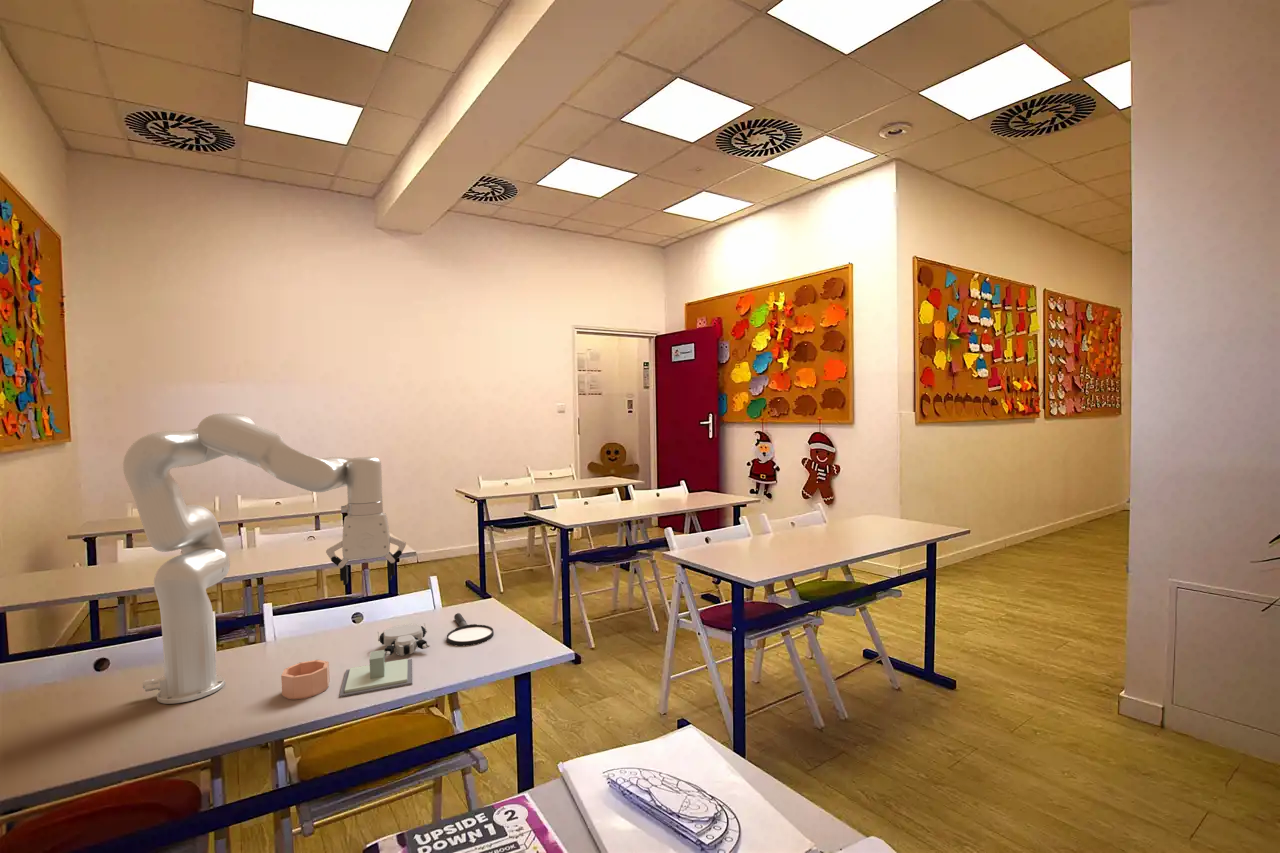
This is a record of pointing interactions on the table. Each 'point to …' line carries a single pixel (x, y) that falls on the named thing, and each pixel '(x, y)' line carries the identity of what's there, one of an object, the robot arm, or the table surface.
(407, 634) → the robot toy
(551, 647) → the table surface
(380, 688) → the mat
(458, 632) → the magnifying glass
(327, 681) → the bowl
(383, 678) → the cover
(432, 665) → the table surface
